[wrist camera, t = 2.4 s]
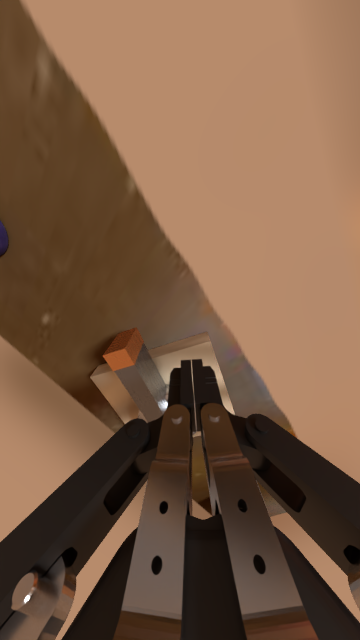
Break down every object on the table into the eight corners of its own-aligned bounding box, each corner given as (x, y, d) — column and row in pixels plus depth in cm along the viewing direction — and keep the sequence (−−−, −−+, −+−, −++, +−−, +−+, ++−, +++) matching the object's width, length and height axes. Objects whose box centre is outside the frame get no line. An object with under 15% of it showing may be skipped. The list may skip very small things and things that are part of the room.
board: (234, 412, 24) (239, 429, 22) (145, 433, 26) (142, 450, 24) (207, 331, 19) (210, 342, 16) (98, 365, 21) (88, 379, 18)
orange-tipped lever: (206, 418, 21) (211, 451, 18) (155, 430, 22) (150, 464, 19) (161, 317, 15) (156, 338, 12) (96, 339, 16) (74, 364, 13)
